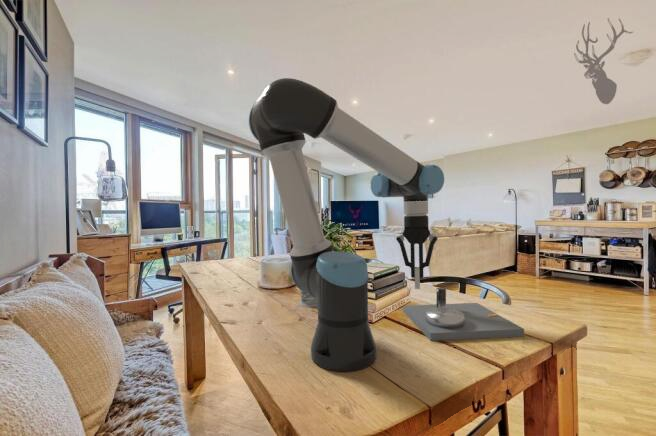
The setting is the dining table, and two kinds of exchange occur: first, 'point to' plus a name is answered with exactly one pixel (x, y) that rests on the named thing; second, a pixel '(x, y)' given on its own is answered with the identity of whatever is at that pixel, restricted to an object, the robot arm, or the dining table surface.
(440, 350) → the dining table surface
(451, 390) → the dining table surface
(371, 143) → the robot arm
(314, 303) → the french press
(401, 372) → the dining table surface
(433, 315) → the cam lever
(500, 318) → the stand
